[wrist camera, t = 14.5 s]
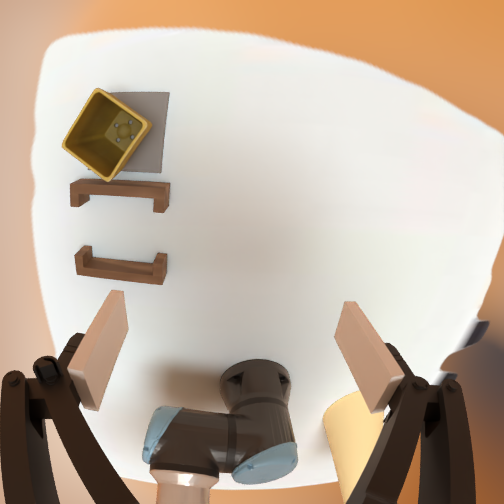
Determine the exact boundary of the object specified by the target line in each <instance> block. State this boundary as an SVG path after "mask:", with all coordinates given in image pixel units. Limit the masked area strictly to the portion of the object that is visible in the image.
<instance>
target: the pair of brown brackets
mask: <svg viewBox="0 0 504 504" xmlns="http://www.w3.org/2000/svg"><path fill="white" fill-rule="evenodd" d="M169 193H170V183H163V182H148V181H130V180H111V181H109V182H106V181H105V180H103V179H79V180H77V181H75V182H73V183H71V184H70V204H71V207H80V206H81V205H83V204H84V203H86V202H87V201H89V194H90V195H110V196H127V197H142V198H154V207H153V212H156V213H164V212H165V210H166V209H167V207H168V206H169ZM74 256H75V264H76V272H77V275H83V276H90V277H98V278H105V279H113V280H122V281H130V282H139V283H147V284H157V285H163V282H164V279H165V276H166V273H167V254H163V253H158V254H157V256H156V258H155V260H154V262H153V264H152V263H142V262H133V261H124V260H114V259H105V258H96V257H92V246H83V247H82V248H81V249H80V250H79V251H78V252H77V253H76V254H75V255H74Z"/></svg>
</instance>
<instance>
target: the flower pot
mask: <svg viewBox="0 0 504 504" xmlns="http://www.w3.org/2000/svg"><path fill="white" fill-rule="evenodd" d="M130 120H132V124H129V121H130ZM115 124H118V127H115ZM151 127H152V123H151V122H150V121H148V120H147V119H146V118H144V117H143V116H141V115H140V114H138V113H137V112H136V111H134V110H133V109H131V108H130V107H129V106H127V105H126V104H125V103H123V102H122V101H120V100H119V99H118V98H116V97H115V96H114V95H112V94H110V93H108V92H106V91H104V90H102V89H100V88H96V89H95V90H94V91H93V92H92V94H91V95H90V97H89V99H88V100H87V102H86V104H85V105H84V107H83V108H82V110H81V112H80V114H79V115H78V117H77V119H76V120H75V122H74V123H73V125H72V127H71V128H70V130H69V132H68V133H67V135H66V137H65V138H64V140H63V143H62V148H63V149H64V150H66V151H67V152H68V153H70V154H71V155H72V156H74V157H75V158H76V159H78V160H79V161H80V162H81V163H83V164H84V165H85V166H86V167H88V168H89V169H90V170H92V171H93V172H94V173H95V174H97V175H98V176H99V177H101V178H102V179H103V180H105V181H106V182H109V181H111V180H112V179H113V178H114V177H115V176H116V175H117V174H118V173H119V172H120V171H121V170H122V169H123V168H124V166H125V165H126V163H127V161H128V160H129V158H130V157H131V155H132V154H133V152H134V151H135V149H136V148H137V147H138V145H139V144H140V142H141V141H142V140H143V138H144V137H145V136H146V134H147V133H148V132H149V130H150V129H151ZM132 135H133V136H134V138H133V139H131V136H132ZM118 138H119V139H120V141H119V142H117V139H118Z"/></svg>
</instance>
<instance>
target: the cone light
mask: <svg viewBox="0 0 504 504" xmlns="http://www.w3.org/2000/svg"><path fill="white" fill-rule="evenodd" d="M383 418H384V412H379V413H374V414H371V413H370V411H369V409H368V407H367V404H366V402H365V400H364V398H363V396H362V394H361V392H360V391H356V392H353V393H351V394H349V395H346V396H344V397H342V398H341V399H339V400H338V401H336V402H335V403H333V404H332V405H331V406H330V407H329V408H328V409H327V410H326V412H325V413H324V416H323V422H324V426H325V430H326V434H327V437H328V441H329V445H330V449H331V453H332V457H333V461H334V465H335V469H336V473H337V476H338V481H339V485H340V489H341V492H342V497H343V501H344V504H346V502H347V500H348V498H349V497H350V495H351V493H352V491H353V489H354V487H355V486H356V484H357V482H358V480H359V478H360V476H361V474H362V472H363V470H364V468H365V466H366V464H367V462H368V460H369V458H370V455H371V453H372V451H373V449H374V447H375V444H376V442H377V440H378V438H379V435H380V433H381V430H382V428H383Z"/></svg>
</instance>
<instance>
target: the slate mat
mask: <svg viewBox="0 0 504 504" xmlns="http://www.w3.org/2000/svg"><path fill="white" fill-rule="evenodd" d="M110 94H112V95H114V96H115V97H116V98H118V99H119V100H120V101H122V102H123V103H125V104H126V105H127V106H129V107H130V108H131V109H133V110H134V111H136V112H137V113H138V114H140V115H141V116H143V117H144V118H146V119H147V120H148V121H150V122H151V123H152V127H151V129H150V130H149V132H148V133H147V134H146V136H145V137H144V138H143V140H142V141H141V142H140V144H139V145H138V147H137V148H136V149H135V151H134V152H133V154H132V155H131V157H130V158H129V160H128V161H127V163H126V165H125V166H124V168H123V169H122V170H121V171H131V172H150V173H161V168H162V156H163V144H164V134H165V125H166V116H167V108H168V101H169V92H115V93H110ZM129 124H132V120H130V121H129ZM115 127H118V124H115ZM133 138H134V136H133V135H132V136H131V139H133ZM119 141H120V139H119V138H118V139H117V142H119ZM88 170H90V169H89V168H88Z"/></svg>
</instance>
